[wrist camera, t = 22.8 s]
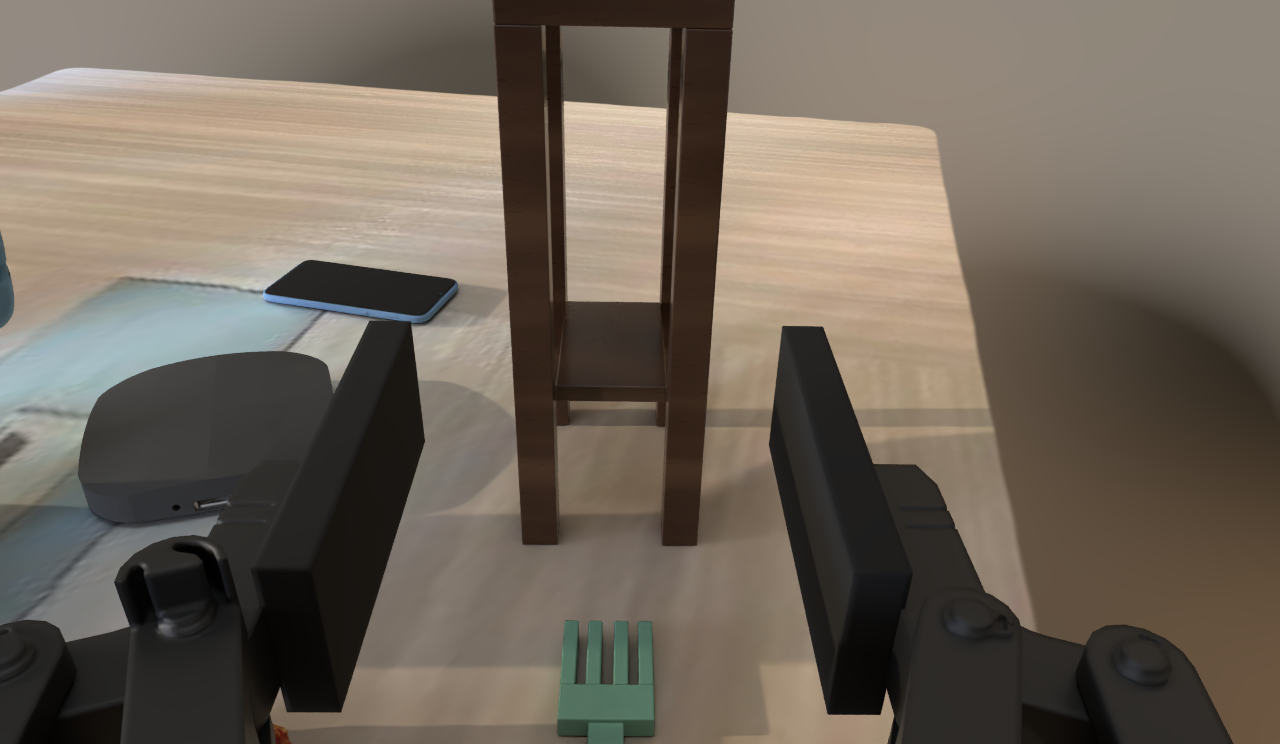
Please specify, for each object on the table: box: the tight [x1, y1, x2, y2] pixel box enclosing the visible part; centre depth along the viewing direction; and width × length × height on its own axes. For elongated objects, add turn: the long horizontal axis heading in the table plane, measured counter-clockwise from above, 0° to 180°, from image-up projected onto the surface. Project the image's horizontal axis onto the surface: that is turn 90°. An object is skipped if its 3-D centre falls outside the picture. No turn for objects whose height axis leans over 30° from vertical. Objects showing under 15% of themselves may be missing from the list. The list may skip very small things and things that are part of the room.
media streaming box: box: [78, 351, 333, 523], centre depth 61 cm, size 15×15×3 cm
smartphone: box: [263, 260, 458, 323], centre depth 80 cm, size 7×1×15 cm
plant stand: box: [492, 0, 735, 545], centre depth 53 cm, size 14×10×30 cm
